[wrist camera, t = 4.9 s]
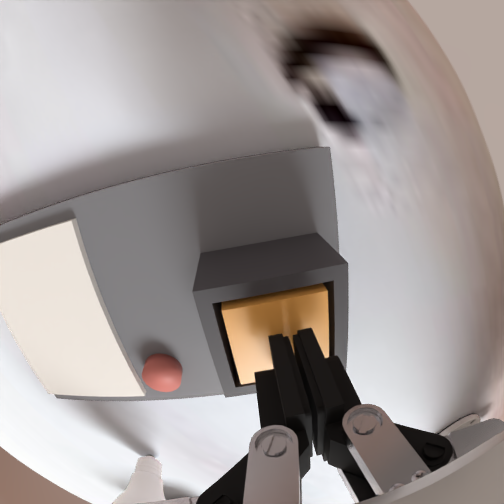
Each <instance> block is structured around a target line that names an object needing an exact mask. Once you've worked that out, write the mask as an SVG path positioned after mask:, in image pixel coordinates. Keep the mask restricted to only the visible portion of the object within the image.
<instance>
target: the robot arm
mask: <svg viewBox="0 0 504 504" xmlns="http://www.w3.org/2000/svg"><path fill="white" fill-rule="evenodd" d="M268 338H269V344H270V350H271V356H272V363H273V369H270V370H264V371H258V372H254V375H255V384H256V392H257V400H258V408H259V416H260V424H261V429H260V430H259V431H257V432H256V433H255V434H254V435H253V437H252V438H251V441H250V444H249V453H248V454H247V455H246V456H244V457H243V458H242V459H241V460H240V461H239V462H238V463H237V464H236V465H235V466H234V467H233V468H231V469H230V470H229V471H228V472H227V473H226V474H225V475H224V476H222V477H221V478H220V479H219V480H218V481H217V482H215V483H214V484H213V485H212V486H211V487H209V488H208V489H207V490H206V491H205V492H203V493H202V494H201V495H200V496H198V497H193V498H189V497H182V498H176V499H170V500H163V501H155V502H146V503H137V504H302V478H303V477H304V475H305V474H306V473H307V472H308V471H309V469H310V457H312V456H313V453H312V440H313V444H314V448H315V451H316V454H317V455H321V454H322V456H323V460H324V461H328V464H329V465H332V466H334V467H337V470H338V472H339V474H340V476H341V478H342V480H343V482H344V484H345V485H346V487H347V489H348V491H349V493H350V495H351V496H352V498H353V500H354V502H355V504H504V422H503V421H501V420H500V419H495V418H493V419H489V420H486V421H483V422H481V423H480V418H479V416H478V415H477V414H471V415H468V416H466V417H464V418H462V419H460V420H459V421H457V422H455V423H454V424H452V425H451V426H449V427H448V428H446V429H445V430H443V431H442V432H441V433H440V434H434V433H430V432H426V431H422V430H418V429H414V428H410V427H406V426H403V425H399V424H396V423H393V422H392V420H391V419H390V418H389V416H388V415H387V414H386V413H385V411H383V410H382V409H381V408H380V407H378V406H376V405H372V404H361V402H360V400H359V397H358V395H357V393H356V391H355V389H354V387H353V385H352V383H351V381H350V379H349V377H348V375H347V373H346V371H345V369H344V366H343V364H342V362H341V360H340V358H339V357H338V356H337V355H336V356H331V357H327V358H325V357H324V354H323V352H322V350H321V348H320V345H319V343H318V341H317V338H316V336H315V334H314V332H313V329H312V328H306V329H301V330H297V334H295V335H293V346H294V352H293V349H292V346H291V342H290V339H289V336H285V337H283V334H282V333H281V334H276V335H270V336H268Z"/></svg>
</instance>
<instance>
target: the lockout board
mask: <svg viewBox="0 0 504 504" xmlns="http://www.w3.org/2000/svg"><path fill="white" fill-rule="evenodd" d="M319 283H323V284H324V286H325V287H326V289H327V290H328V314H329V357H331V356H336V355H337V356H338V357H339V358H340V360H341V362H342V364H343V366H344V369H345V371H346V363H347V342H348V263H347V262H346V261H345V260H344V258H343V257H342V256H341V255H340V254H339V241H338V225H337V212H336V200H335V189H334V179H333V170H332V161H331V153H330V147H314V148H305V149H296V150H288V151H280V152H273V153H266V154H259V155H252V156H246V157H240V158H234V159H228V160H223V161H217V162H212V163H207V164H202V165H197V166H192V167H187V168H183V169H178V170H173V171H169V172H165V173H160V174H156V175H152V176H148V177H144V178H140V179H136V180H132V181H129V182H125V183H121V184H117V185H114V186H110V187H107V188H103V189H100V190H97V191H93V192H90V193H87V194H84V195H80V196H77V197H74V198H71V199H68V200H65V201H62V202H59V203H56V204H53V205H50V206H48V207H45V208H42V209H39V210H36V211H34V212H31V213H28V214H26V215H23V216H21V217H18V218H16V219H13V220H11V221H8V222H6V223H3V224H1V225H0V311H1V314H2V316H3V318H4V320H5V322H6V324H7V326H8V328H9V330H10V332H11V334H12V335H13V337H14V339H15V341H16V343H17V345H18V346H19V348H20V350H21V352H22V353H23V355H24V357H25V358H26V360H27V362H28V363H29V365H30V367H31V368H32V370H33V371H34V373H35V374H36V376H37V377H38V379H39V381H40V382H41V383H42V385H43V386H44V388H45V389H46V391H47V392H48V394H54V395H55V396H56V398H60V399H74V400H95V401H145V400H167V399H182V398H193V397H204V396H213V395H221V394H224V395H225V397H233V396H240V395H246V394H253V393H257V392H256V384H255V382H253V383H247V384H241V383H240V379H239V375H238V372H237V368H236V364H235V361H234V357H233V353H232V349H231V346H230V342H229V338H228V334H227V330H226V326H225V322H224V318H223V314H222V302H223V301H229V300H235V299H241V298H246V297H252V296H257V295H263V294H268V293H274V292H279V291H284V290H289V289H294V288H299V287H304V286H309V285H314V284H319Z"/></svg>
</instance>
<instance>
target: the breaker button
mask: <svg viewBox="0 0 504 504" xmlns="http://www.w3.org/2000/svg"><path fill="white" fill-rule="evenodd" d="M222 314H223V318H224V322H225V326H226V330H227V334H228V338H229V342H230V346H231V349H232V353H233V357H234V361H235V364H236V368H237V372H238V375H239V379H240V383H241V384H247V383H253V382H255V375H254V372H258V371H264V370H270V369H273V363H272V356H271V350H270V344H269V338H268V336H270V335H276V334H281V333H282V334H283V337H285V336H289V339H290V342H291V346H292V349H293V352H294V346H293V335H295V334H297V330H301V329H306V328H312V329H313V332H314V334H315V336H316V338H317V341H318V343H319V345H320V348H321V350H322V352H323V354H324V357H325V358H327V357H329V314H328V290H327V289H326V287H325V286H324V284H323V283H319V284H314V285H309V286H304V287H299V288H294V289H289V290H284V291H279V292H274V293H268V294H263V295H257V296H252V297H246V298H241V299H235V300H229V301H223V302H222Z"/></svg>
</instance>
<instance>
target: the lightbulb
mask: <svg viewBox="0 0 504 504" xmlns="http://www.w3.org/2000/svg"><path fill="white" fill-rule="evenodd" d="M161 472H162V464H161V463H160V462H159V461H158V460H157V459H155V458H154V457H153V456H145V457H140V458H138V461H137V464H136V469H135V472H134V473H133V474H132V476H131V479H130V482H129V484H128V487H127V488H126V489H125V491H124V492H123V493H122V494H121V495H120V496H118V497H117V499H116V500H115V501H114V502H113V503H112V504H137V503H146V502H155V501H163V500H166V499H165V497H164V492H163V480H162V479H161V475H162V474H161Z"/></svg>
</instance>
